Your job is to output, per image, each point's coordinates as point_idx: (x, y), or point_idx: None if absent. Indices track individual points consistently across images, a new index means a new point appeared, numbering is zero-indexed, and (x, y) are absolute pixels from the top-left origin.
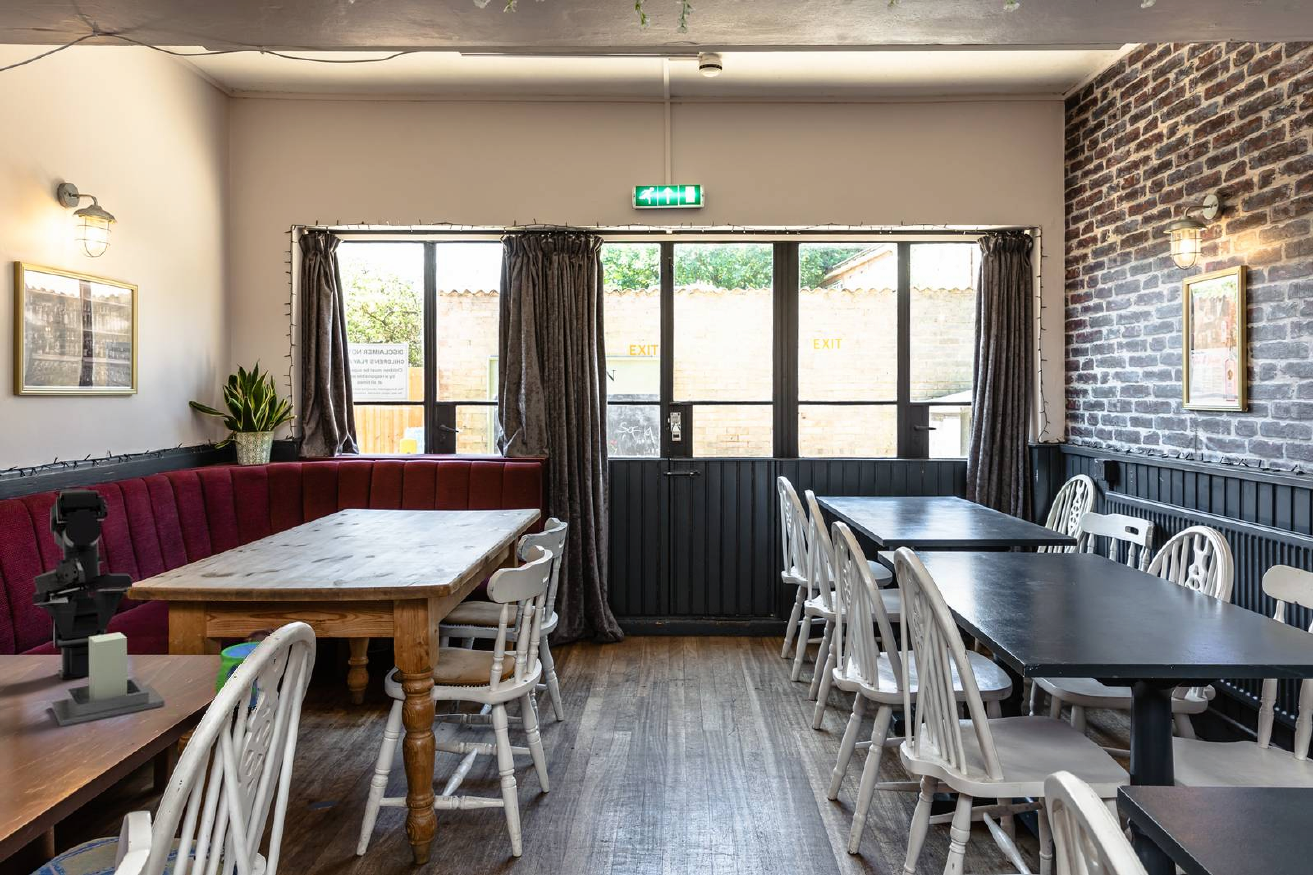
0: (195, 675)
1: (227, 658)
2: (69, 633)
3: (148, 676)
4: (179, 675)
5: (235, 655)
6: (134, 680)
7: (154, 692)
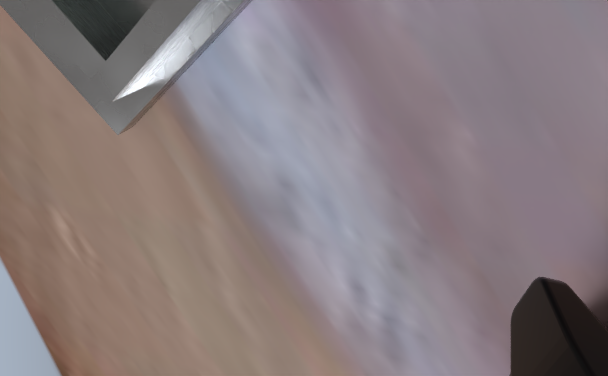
0: (91, 292)
1: None
2: (517, 356)
3: (258, 307)
4: (147, 301)
5: None
6: (80, 47)
7: (16, 10)
